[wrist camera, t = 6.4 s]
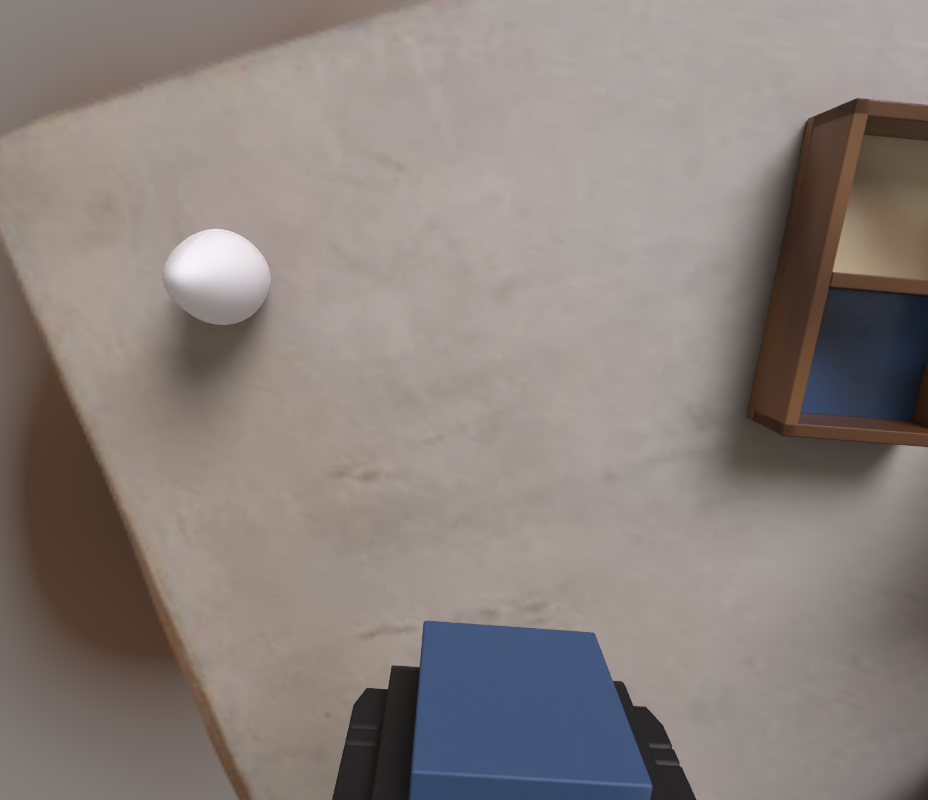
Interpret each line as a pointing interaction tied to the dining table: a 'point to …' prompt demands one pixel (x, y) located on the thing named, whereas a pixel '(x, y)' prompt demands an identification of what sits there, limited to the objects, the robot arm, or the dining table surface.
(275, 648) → the dining table surface
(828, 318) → the sorter
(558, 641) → the block
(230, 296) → the egg
